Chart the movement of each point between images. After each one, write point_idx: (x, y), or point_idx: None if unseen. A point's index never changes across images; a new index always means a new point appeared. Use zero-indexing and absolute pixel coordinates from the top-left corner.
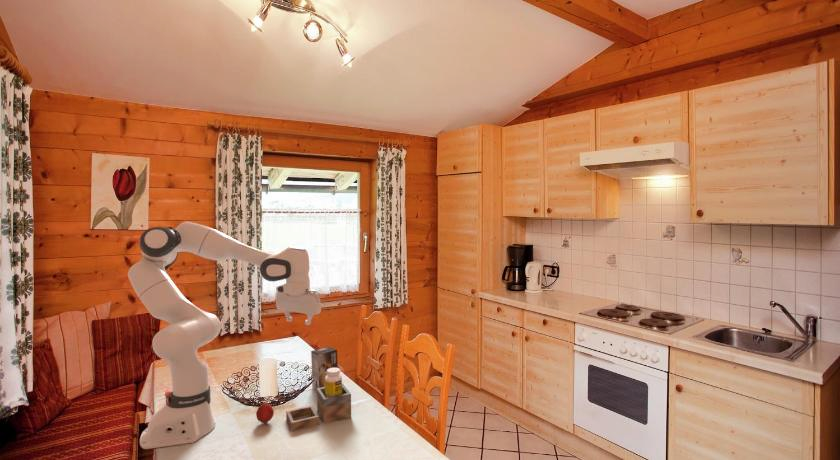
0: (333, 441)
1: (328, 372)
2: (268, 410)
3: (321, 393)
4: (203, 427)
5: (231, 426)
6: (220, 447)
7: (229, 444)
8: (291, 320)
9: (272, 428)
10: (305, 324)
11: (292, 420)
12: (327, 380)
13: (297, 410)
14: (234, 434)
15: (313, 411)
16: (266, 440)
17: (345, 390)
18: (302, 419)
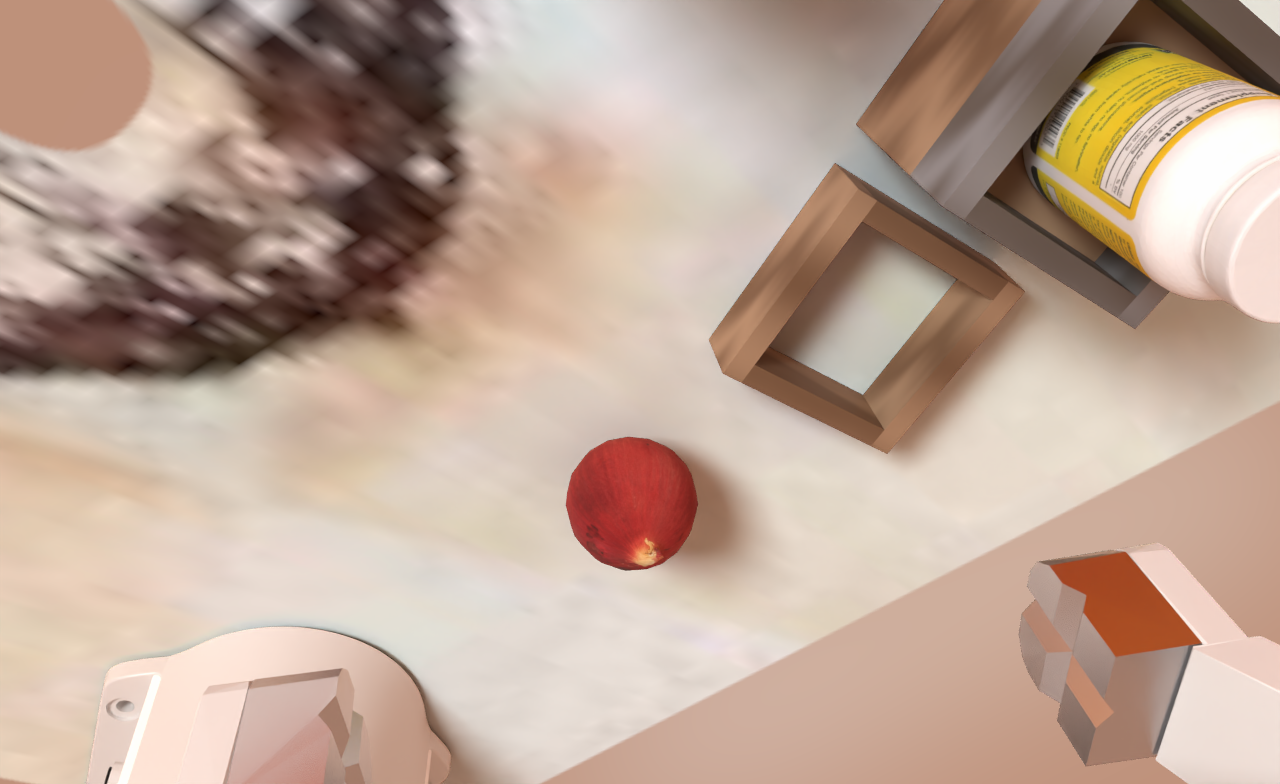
0: (1192, 348)
1: (1268, 321)
2: (689, 530)
3: (1053, 259)
4: (416, 750)
5: (456, 586)
6: (619, 704)
7: (636, 671)
8: (349, 709)
9: (719, 463)
10: (1023, 645)
11: (870, 430)
12: (1205, 299)
13: (792, 311)
14: (564, 616)
15: (935, 259)
16: (794, 551)
17: (1263, 67)
18: (930, 384)
